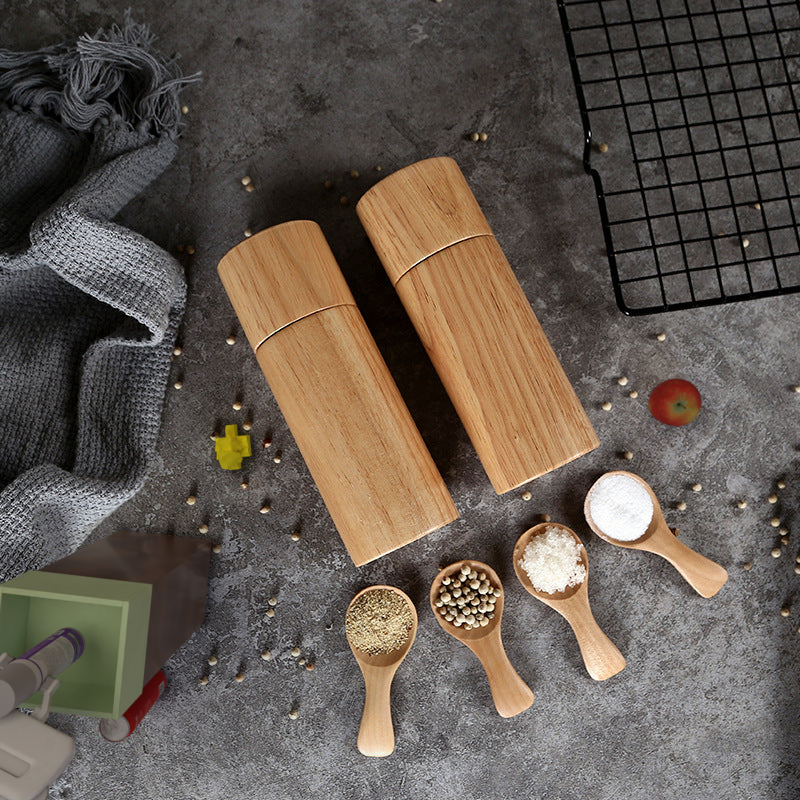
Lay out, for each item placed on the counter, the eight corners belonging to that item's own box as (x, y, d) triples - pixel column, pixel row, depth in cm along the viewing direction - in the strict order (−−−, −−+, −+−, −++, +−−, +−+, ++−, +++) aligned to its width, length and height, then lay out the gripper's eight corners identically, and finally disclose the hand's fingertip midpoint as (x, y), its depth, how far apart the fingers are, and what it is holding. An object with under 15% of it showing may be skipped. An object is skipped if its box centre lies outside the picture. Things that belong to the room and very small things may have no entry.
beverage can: (163, 661, 118) (125, 701, 103) (172, 695, 118) (136, 740, 103) (132, 669, 118) (90, 710, 103) (141, 703, 118) (101, 749, 103)
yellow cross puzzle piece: (248, 423, 116) (236, 425, 108) (253, 466, 116) (241, 472, 109) (216, 426, 116) (202, 429, 109) (221, 469, 117) (207, 475, 109)
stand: (113, 610, 118) (22, 676, 91) (121, 529, 117) (32, 572, 90) (204, 620, 117) (140, 690, 90) (212, 539, 117) (150, 586, 90)
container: (49, 658, 86) (-28, 715, 71) (53, 624, 86) (-23, 674, 71) (83, 663, 86) (13, 722, 71) (87, 629, 86) (18, 680, 71)
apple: (695, 392, 114) (722, 392, 104) (673, 432, 114) (698, 436, 104) (655, 370, 114) (677, 369, 104) (633, 411, 114) (653, 413, 104)
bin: (20, 678, 91) (-15, 704, 83) (30, 570, 90) (-4, 586, 83) (142, 693, 90) (117, 720, 83) (152, 584, 90) (129, 601, 83)
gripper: (20, 829, 66) (108, 699, 75) (-155, 737, 66) (-46, 619, 75) (27, 836, 70) (109, 713, 80) (-136, 750, 71) (-35, 638, 80)
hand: (33, 667), depth 78 cm, fingers closed on container, 5 cm apart
